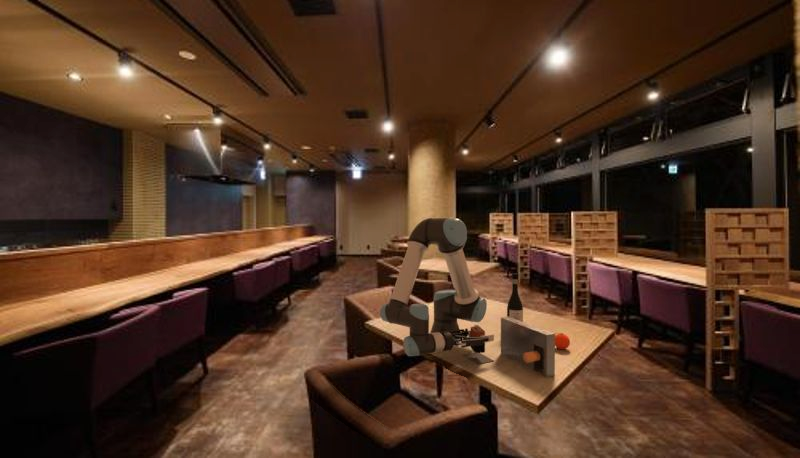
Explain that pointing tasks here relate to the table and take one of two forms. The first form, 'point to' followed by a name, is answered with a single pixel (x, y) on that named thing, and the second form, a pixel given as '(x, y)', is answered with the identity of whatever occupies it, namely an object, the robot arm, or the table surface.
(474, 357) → the mat
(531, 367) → the panel
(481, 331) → the battery
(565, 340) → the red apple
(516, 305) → the wine bottle
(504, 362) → the table surface
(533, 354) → the orange rounded cylinder
